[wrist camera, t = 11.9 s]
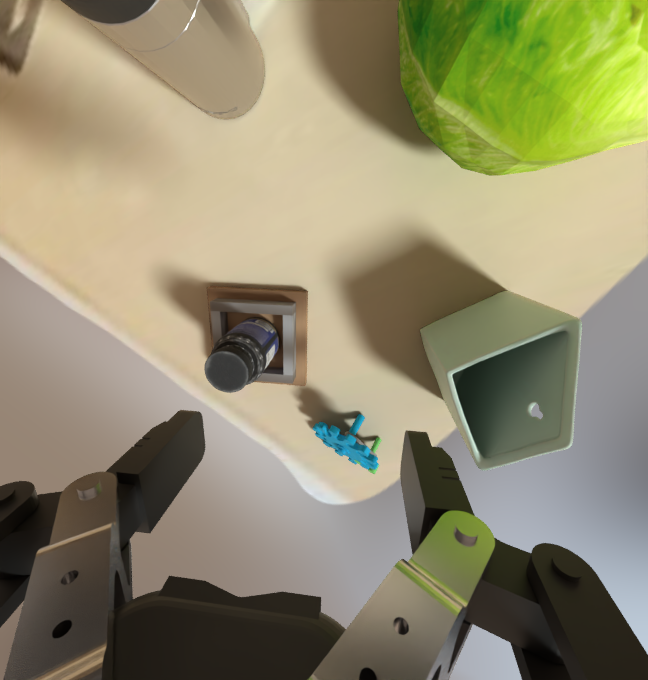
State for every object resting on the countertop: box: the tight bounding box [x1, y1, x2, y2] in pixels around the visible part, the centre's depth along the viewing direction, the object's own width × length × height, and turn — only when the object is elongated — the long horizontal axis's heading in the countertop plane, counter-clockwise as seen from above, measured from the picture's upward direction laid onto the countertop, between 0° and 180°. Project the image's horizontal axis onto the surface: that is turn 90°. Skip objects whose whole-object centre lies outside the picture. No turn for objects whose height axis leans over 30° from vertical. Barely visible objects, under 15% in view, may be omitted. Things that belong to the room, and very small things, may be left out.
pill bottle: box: [205, 317, 280, 393], centre depth 37 cm, size 6×6×11 cm
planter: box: [420, 291, 582, 470], centre depth 32 cm, size 16×8×20 cm, turn 161°
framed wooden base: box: [207, 286, 308, 386], centre depth 42 cm, size 13×13×3 cm
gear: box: [313, 414, 381, 474], centre depth 44 cm, size 11×6×10 cm
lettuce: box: [398, 0, 648, 175], centre depth 24 cm, size 19×25×17 cm
